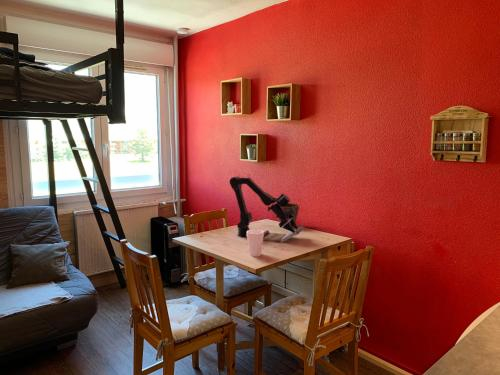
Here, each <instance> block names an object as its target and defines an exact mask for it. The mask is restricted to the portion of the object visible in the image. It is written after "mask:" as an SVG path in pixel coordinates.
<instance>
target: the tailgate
mask: <svg viewBox="0 0 500 375" xmlns="http://www.w3.org/2000/svg"><path fill="white" fill-rule="evenodd" d="M304 229H305V226H304V225H301V226H299V227H298V229H296V228H295V229H294V231H295V232H294V233H293V232H291V231H289V232H288V233H285V234H286V235H285V236H284V237H283V238H282V239H281V240H280V241H281V242H280V243H284V242H285V241H288V240H289V239H292V238H293V237H296V236H297V235H299V234H301V232H302V231H303V230H304Z"/></svg>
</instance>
